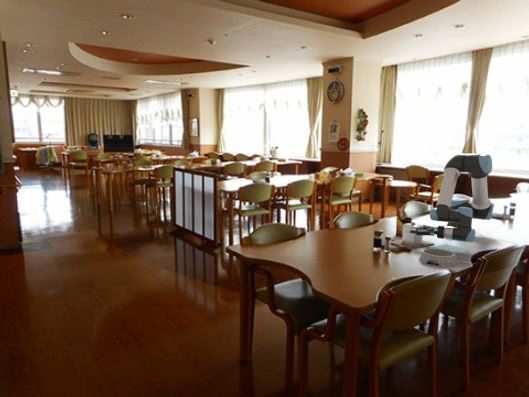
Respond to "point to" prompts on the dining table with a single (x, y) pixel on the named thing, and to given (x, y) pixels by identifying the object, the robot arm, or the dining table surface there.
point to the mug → (401, 224)
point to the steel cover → (412, 238)
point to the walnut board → (409, 246)
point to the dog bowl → (438, 257)
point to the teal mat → (450, 248)
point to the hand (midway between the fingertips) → (407, 228)
